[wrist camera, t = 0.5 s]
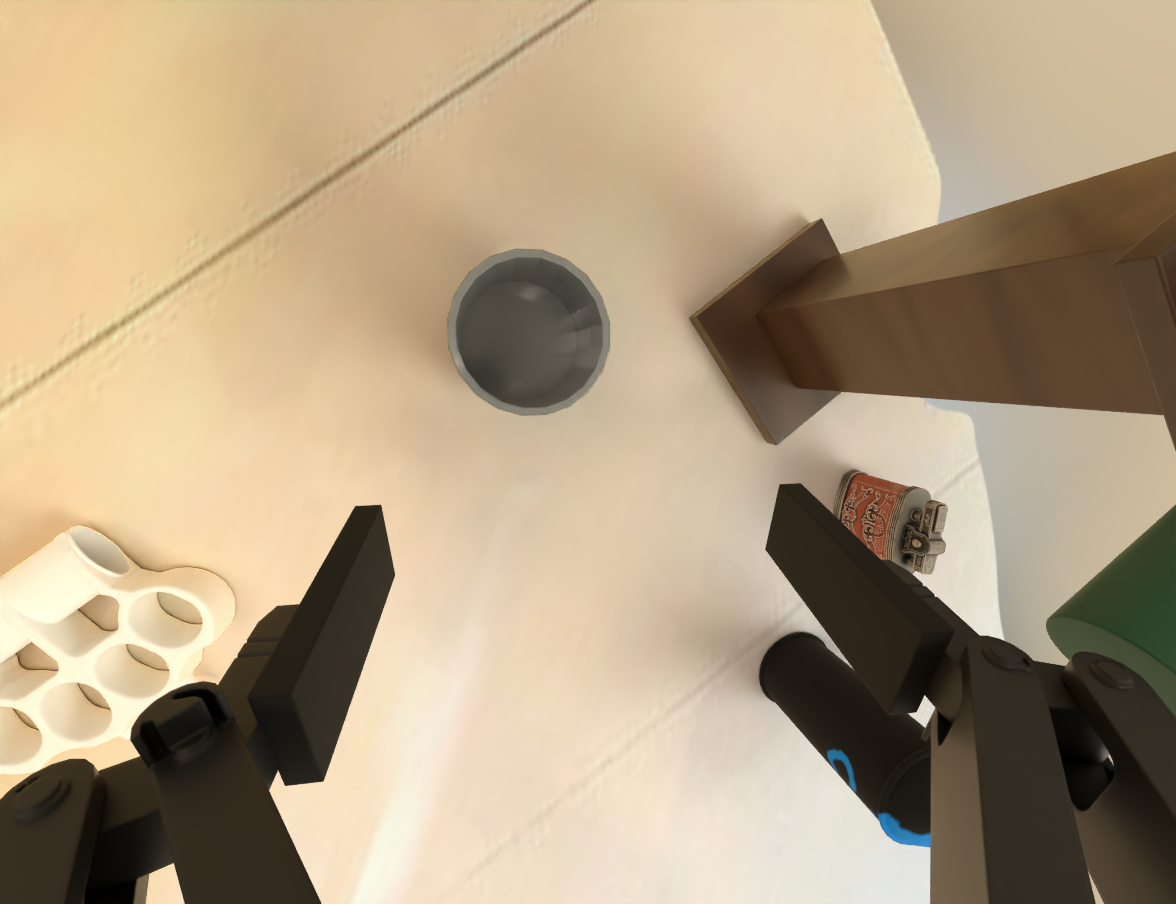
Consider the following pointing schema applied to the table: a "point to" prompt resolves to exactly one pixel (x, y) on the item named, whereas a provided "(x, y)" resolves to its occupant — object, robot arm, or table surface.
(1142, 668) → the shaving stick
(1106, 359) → the stand
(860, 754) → the aerosol can
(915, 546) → the lighter
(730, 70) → the table surface
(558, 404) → the steel cup
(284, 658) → the robot arm
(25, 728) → the knuckle duster
